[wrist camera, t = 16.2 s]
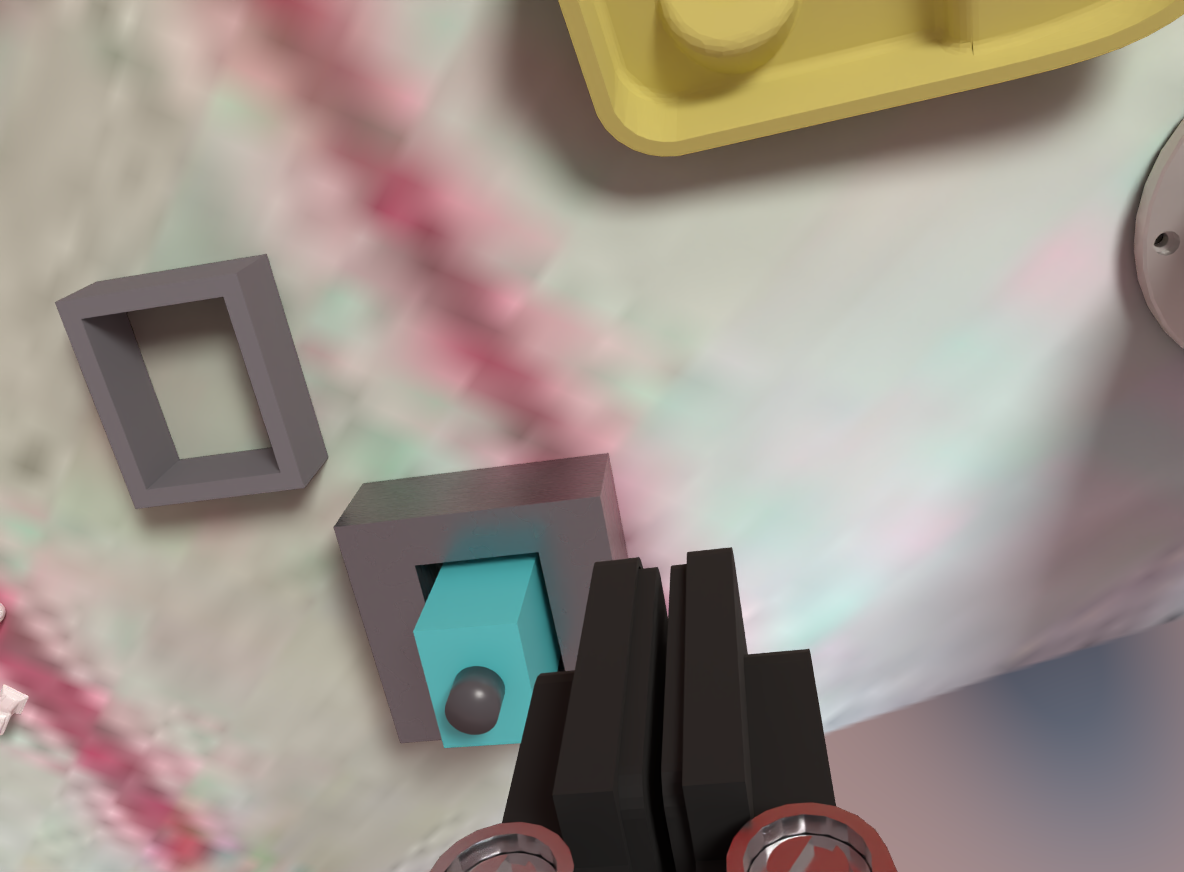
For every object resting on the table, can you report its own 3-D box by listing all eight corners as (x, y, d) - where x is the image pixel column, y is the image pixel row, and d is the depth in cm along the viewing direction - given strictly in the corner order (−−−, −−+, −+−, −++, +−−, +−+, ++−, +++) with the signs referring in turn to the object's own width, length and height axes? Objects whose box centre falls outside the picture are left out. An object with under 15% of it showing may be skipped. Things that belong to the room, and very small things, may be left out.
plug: (546, 519, 45) (510, 647, 37) (567, 624, 47) (537, 768, 39) (458, 528, 46) (402, 655, 37) (482, 631, 48) (435, 774, 39)
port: (608, 453, 44) (599, 496, 40) (648, 666, 48) (644, 723, 44) (362, 483, 45) (333, 527, 42) (422, 687, 49) (400, 743, 46)
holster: (266, 254, 41) (236, 273, 39) (328, 457, 45) (304, 487, 42) (96, 281, 43) (54, 302, 40) (168, 477, 46) (135, 508, 43)
